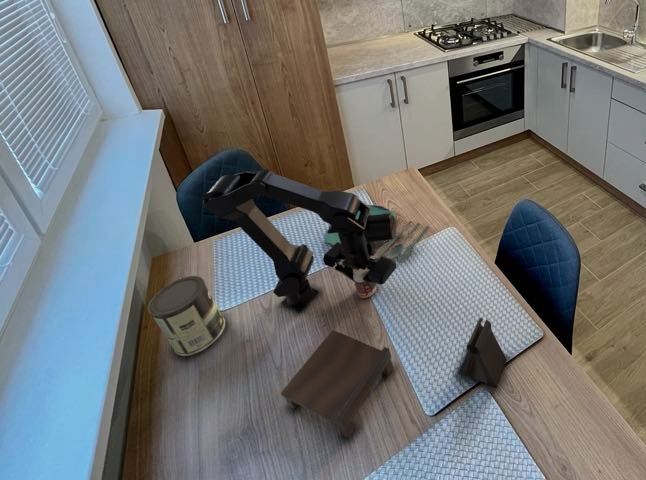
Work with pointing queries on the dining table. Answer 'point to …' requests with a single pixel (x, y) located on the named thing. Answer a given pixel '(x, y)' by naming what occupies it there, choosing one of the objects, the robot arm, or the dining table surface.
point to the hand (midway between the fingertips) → (365, 285)
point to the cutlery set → (396, 250)
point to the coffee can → (187, 315)
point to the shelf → (338, 379)
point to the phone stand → (483, 356)
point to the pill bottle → (362, 283)
